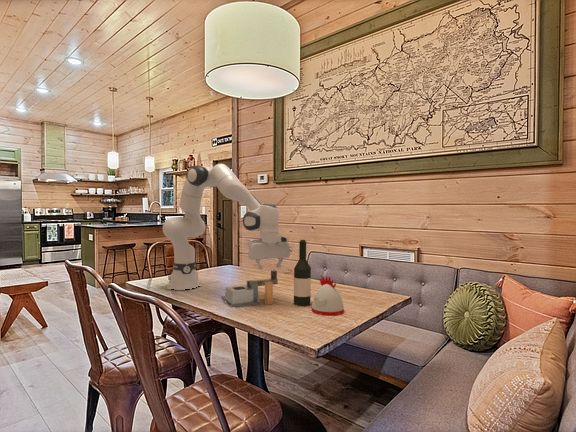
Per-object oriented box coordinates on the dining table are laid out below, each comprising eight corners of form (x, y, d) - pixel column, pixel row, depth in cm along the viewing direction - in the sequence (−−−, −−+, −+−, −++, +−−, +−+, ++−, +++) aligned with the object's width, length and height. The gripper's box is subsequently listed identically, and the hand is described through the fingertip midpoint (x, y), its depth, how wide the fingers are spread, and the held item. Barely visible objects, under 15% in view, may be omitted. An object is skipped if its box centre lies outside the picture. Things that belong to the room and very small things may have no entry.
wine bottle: (290, 304, 159) (290, 240, 159) (298, 300, 166) (298, 238, 166) (306, 307, 155) (307, 240, 155) (313, 302, 162) (314, 239, 162)
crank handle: (249, 285, 164) (249, 272, 164) (275, 283, 171) (275, 270, 171) (251, 286, 162) (251, 273, 162) (277, 284, 168) (278, 271, 168)
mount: (221, 298, 169) (221, 279, 169) (245, 295, 175) (245, 277, 175) (233, 307, 153) (233, 286, 153) (260, 304, 159) (260, 283, 159)
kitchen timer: (323, 305, 159) (323, 272, 159) (349, 310, 150) (349, 276, 150) (305, 311, 148) (305, 277, 148) (332, 318, 140) (333, 281, 139)
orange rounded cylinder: (263, 303, 161) (263, 282, 161) (270, 302, 163) (270, 281, 162) (266, 305, 158) (267, 283, 158) (273, 304, 159) (274, 282, 159)
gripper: (251, 239, 152) (251, 270, 152) (291, 238, 162) (291, 267, 162) (246, 238, 158) (246, 268, 158) (285, 237, 167) (285, 265, 167)
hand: (269, 268), depth 160 cm, fingers open, 8 cm apart
